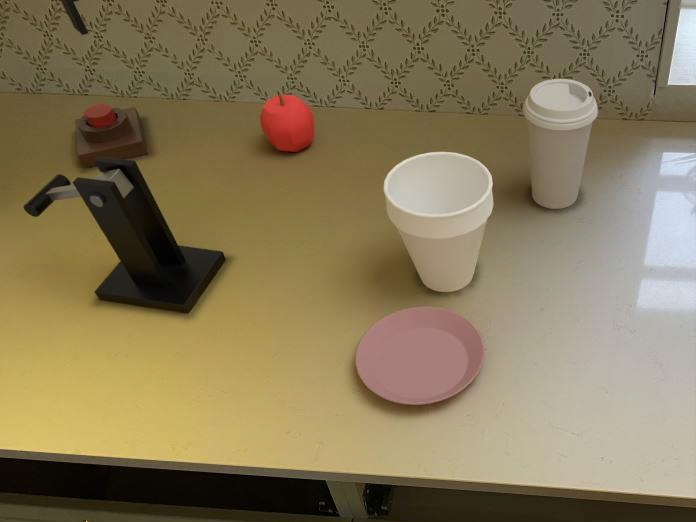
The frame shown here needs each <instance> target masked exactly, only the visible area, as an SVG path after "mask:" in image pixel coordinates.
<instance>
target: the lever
mask: <svg viewBox="0 0 696 522" xmlns="http://www.w3.org/2000/svg"><path fill="white" fill-rule="evenodd" d="M93 179H96V180H104V181H112V182H115V184H116V185H117V187H118V189H119V191H120V193H121V194H122V196H123V198H125V197H126V195H127V194H128V193H129V192H130V191H131V190H132V189H133V188H134V186H133V185H132V184H131V183H130V181H129V180H128V179H127V178H126V176H125V175H124V174H123V173H122V171H121V170H120V169H116V170H110V171H104V172H100V171H99V173H98V174H97V175H96V176H95V177H94V178H93ZM75 198H82V197H81V196H80V194H79V192H78V191H77V189H76V187H75V186H74V184H71V181H70V179H68V177H67V176H66V175H64V174H60V173H57V174H56V175H55V176H54V177H52V178H51V179H50V180H49V181H48V182H47V183H46V184H45V185H44V186H42V188H41V189H40V190H38V192H36V193H35V194H34V195H33V196H32V197H31V198H30V199H29V200H28V201H27V202H26V203H24V204H23V210H24V211H25V212H26V213H27V215H30V216H31V217H34V218H38V217H40V216H41V215H42V214H43V213H44V212H45V211H46V209H48V208H49V207H50V206H51V205H52V204H53V203H54V202H55V201H60V200H68V199H75Z"/></svg>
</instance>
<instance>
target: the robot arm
mask: <svg viewBox="0 0 696 522" xmlns="http://www.w3.org/2000/svg"><path fill="white" fill-rule="evenodd" d="M79 1H80V0H60V2H61V4H62V6H63V8H64V10H65V12H66V15H67V17H68V18H69V20H70V21H71V24H72V26H73V28H74V29H75V30H76V31H77V32H78V33H80V35H82V36H84V35H89V31H88V29H87V26H86V25H85V22H84V21H83V18H82V16H81V14H80V13H79V10H78V8H77V6H76V4H75V2H79Z"/></svg>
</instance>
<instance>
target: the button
mask: <svg viewBox="0 0 696 522" xmlns="http://www.w3.org/2000/svg"><path fill="white" fill-rule="evenodd" d="M112 108H113V107H112V106H111V105H110V104H106V103H98V104H94V105H91V106H89V107H87V108H86V109H84V111H83V115H84V116H85V118H86V120H87V122H88V124H89V125H90V126H91V127H103V126H107V125H109V124H111V123H113V122H115V121H116V119H117V117H116V115H115V113H114V111H113V109H112Z"/></svg>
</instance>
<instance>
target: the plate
mask: <svg viewBox="0 0 696 522" xmlns="http://www.w3.org/2000/svg"><path fill="white" fill-rule="evenodd" d="M485 349H486V348H485V343H484V340H483V337H482V335H481V333H480V331H479V330H478V328H477V327H476V326H475V325H474V324H473V323H472V322H471V321H470V320H469V319H468V318H466V317H465V316H463V315H462V314H460V313H458V312H456V311H453V310H451V309H448V308H443V307H437V306H414V307H408V308H404V309H400V310H397V311H394V312H391V313H389V314H387V315H385V316H383V317H382V318H380V319H379V320H378V321H376V322H375V323H373V325H371V326H370V327H369V328H368V329H367V330H366V332H365V333H364V334H363V336H362V337H361V339H360V341H359V343H358V345H357V348H356V352H355V367H356V371H357V374H358V376H359V378H360V379H361V382H362V383H363V385H365V386H366V387H367V389H368V390H370V391H371V392H372V393H374V394H375V395H376V396H378V397H380V398H382V399H384V400H387V401H390V402H393V403H397V404H401V405H411V406H419V405H421V406H422V405H428V404H435V403H438V402H441V401H444V400H447V399H449V398H451V397H454V396H455V395H457V394H459V393H460V392H461V391H462V392H463V390H464V389H466V388H467V387H468V386H469V385H471V383H472V382H473V381H474V380H475V379H476V377H477V376H478V375H479V372H480V371H481V369H482V367H483V364H484V361H485V353H486V352H485Z"/></svg>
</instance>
